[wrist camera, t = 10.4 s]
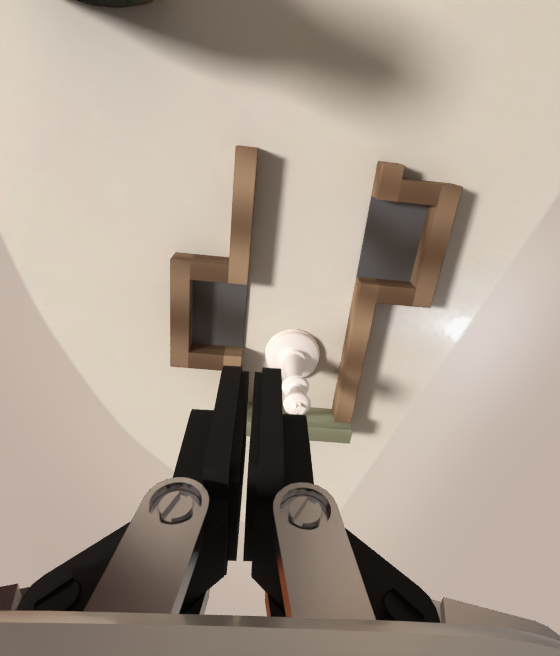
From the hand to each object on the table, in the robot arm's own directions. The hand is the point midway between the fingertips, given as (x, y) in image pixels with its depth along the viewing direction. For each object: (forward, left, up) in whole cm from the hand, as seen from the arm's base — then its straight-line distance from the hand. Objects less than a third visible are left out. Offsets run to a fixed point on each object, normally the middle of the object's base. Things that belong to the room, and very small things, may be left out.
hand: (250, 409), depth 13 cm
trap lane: (+6, +4, -24) cm, 25 cm away
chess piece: (+11, +4, -24) cm, 27 cm away
